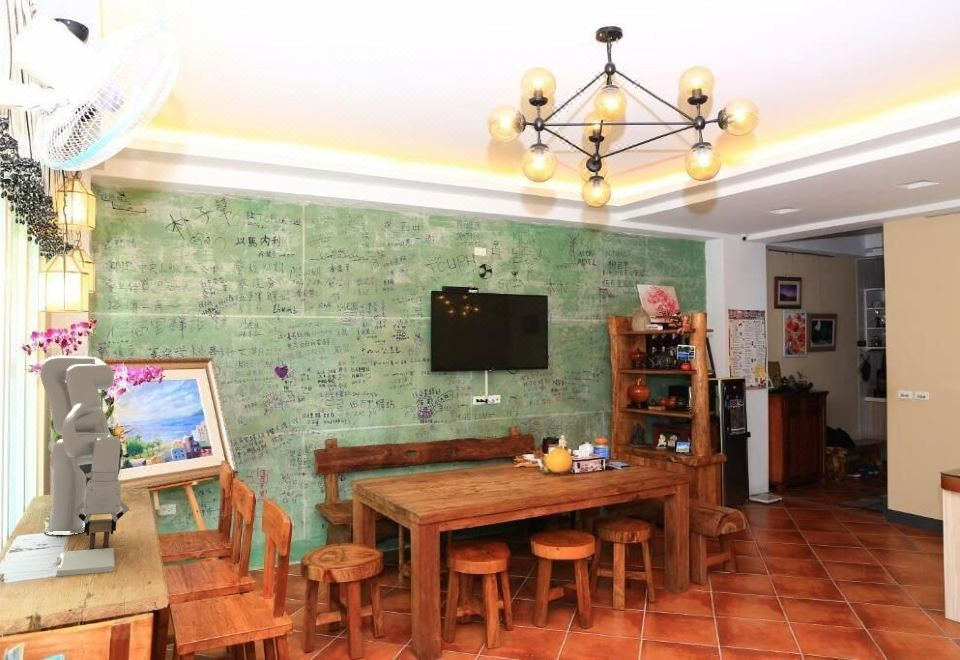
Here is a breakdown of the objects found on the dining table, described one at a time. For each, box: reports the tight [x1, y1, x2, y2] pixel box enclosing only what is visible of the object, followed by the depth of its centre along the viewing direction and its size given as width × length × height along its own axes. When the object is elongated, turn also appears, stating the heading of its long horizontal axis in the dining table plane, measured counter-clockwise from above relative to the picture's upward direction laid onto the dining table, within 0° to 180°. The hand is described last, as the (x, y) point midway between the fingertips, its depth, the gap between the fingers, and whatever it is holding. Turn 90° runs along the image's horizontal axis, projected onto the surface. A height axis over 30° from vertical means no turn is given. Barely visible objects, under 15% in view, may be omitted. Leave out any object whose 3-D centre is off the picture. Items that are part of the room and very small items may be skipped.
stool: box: [88, 518, 112, 550], centre depth 214 cm, size 6×6×8 cm
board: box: [56, 547, 115, 577], centre depth 199 cm, size 18×14×2 cm
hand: (99, 533), depth 214 cm, fingers closed on stool, 6 cm apart
